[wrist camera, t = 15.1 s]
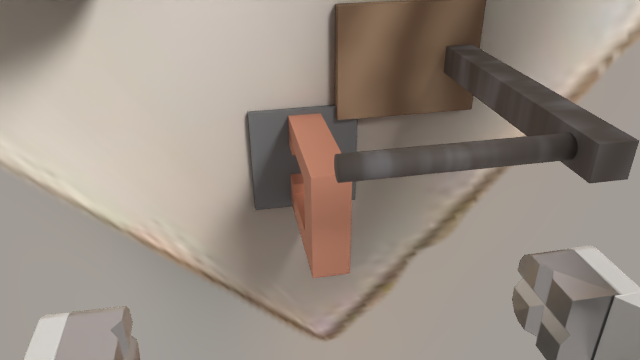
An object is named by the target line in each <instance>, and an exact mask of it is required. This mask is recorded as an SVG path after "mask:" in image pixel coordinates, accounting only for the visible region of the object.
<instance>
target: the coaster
mask: <svg viewBox="0 0 640 360" xmlns="http://www.w3.org/2000/svg"><path fill="white" fill-rule="evenodd" d="M318 113H321V115H322V117H323V119H324V120H325V122H326V124H327V126H328V128H329V130H330V132H331V134H332V136H333V138H334V140H335V142H336V143H337V145H338V147H339V149H340V151H341V153H352V152H356V145H357V119H344V120H337V118H336V106H335V105H330V106H316V107H303V108H290V109H277V110H264V111H251V112H248V123H249V136H250V148H251V161H252V174H253V186H254V199H255V209H256V210H261V209H270V208H280V207H289V206H293V205H292V200H291V174H301V170H300V167H299V164H298V161H297V158H296V155H292V153H291V150H290V147H289V126H288V116H292V115H305V114H318ZM355 183H356V181H353V182H352V200H355Z"/></svg>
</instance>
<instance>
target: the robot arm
mask: <svg viewBox="0 0 640 360" xmlns="http://www.w3.org/2000/svg"><path fill="white" fill-rule="evenodd" d="M518 271H519V273H520V275H521V276H522V279H521V280H520V281H519V282H518V283H517V284H516V286H515V287H514V292H513V298H512V301H513V307H514V312H515V315H516V317H517V319H518V321H519V323H520V324H521V326H522V327H523V329H524V330H526V331H527V332H530V333H531V334H533V335H535V336H537V339H536V346H537V348H538V349H539V350H540V352H541V353H542V354H543V356H544V357H545V358H546V360H640V287H639V286H637V285H636V284H635V283H634V282H633V281H632V280H631V279H630V278H629V277H627V276H626V275H625V274H624V273H623V272H622V271H621V270H620V269H619V268H617V267H616V266H615V265H614V264H613V263H612V262H611V261H610V260H609V259H608V258H606V257H605V256H604V255H603V254H602V253H601V252H600V251H598V249H596V248H594V247H592V246H589V245H588V246H581V247H575V248H568V249H566V250H557V251H550V252H543V253H536V254H528V255H524V256H523V257H522V259H521V260H520V263H519V268H518ZM132 322H133V321H132V318H131V314H130V310H129V308H128V307H127V306H122V307H113V308H103V309H95V310H85V311H76V312H72V313H62V314H53V315H44V316H43V317H42V318H41V319H40V320H39V321H38V323H37V325H36V328H35V330H34V333H33V335H32V338H31V340H30V343H29V345H28V348H27V350H26V353H25V355H24V358H23V360H140V355H139V348H138V343H137V339H135V338H134V337H133V336H131V329H132Z"/></svg>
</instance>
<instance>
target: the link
mask: <svg viewBox="0 0 640 360" xmlns="http://www.w3.org/2000/svg"><path fill="white" fill-rule="evenodd" d="M288 126H289V147H290V150H291V153H292V155H296V158H297V161H298V164H299V167H300V170H301V174H291V200H292V205H293V208H294V212H295V216H296V219H297V223H298V226H299V230H300V234H301V237H302V241H303V244H304V248H305V251H306V255H307V259H308V262H309V266H310V269H311V273H312V277H313V278H318V277H325V276H333V275H341V274H349V273H350V250H351V205H352V182H343V183H338V182H337V180H336V176H335V170H334V156H335V154H341V151H340V149H339V147H338V145H337V143H336V142H335V140H334V138H333V136H332V134H331V132H330V130H329V128H328V126H327V124H326V122H325V120H324V119H323V117H322V115H321V113H318V114H305V115H292V116H288Z"/></svg>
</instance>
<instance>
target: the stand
mask: <svg viewBox="0 0 640 360" xmlns="http://www.w3.org/2000/svg"><path fill="white" fill-rule="evenodd" d="M485 4H486V0H409V1H387V2H365V3H343V4H335V106H336V118H337V120H344V119H357V118H369V117H382V116H394V115H406V114H419V113H431V112H443V111H456V110H468V109H471V108H472V100H473V95H474V96H475V97H477V98H478V99H479V100H480V101H482V102H483V103H484V104H486V105H487V106H488V107H490V108H491V109H492V110H494V111H495V112H496V113H498V114H499V115H500V116H502V117H503V118H504V119H505V120H507V121H508V122H509V123H511V124H512V125H513V126H515V127H516V128H517V129H519V130H520V131H521V132H523V133H524V134H525V135H527V137H516V138H505V139H494V140H483V141H472V142H461V143H450V144H439V145H428V146H417V147H406V148H395V149H384V150H373V151H363V152H352V153H341V154H335V156H334V170H335V176H336V180H337V182H338V183H343V182H353V181H363V180H373V179H383V178H393V177H403V176H413V175H423V174H433V173H443V172H453V171H463V170H473V169H483V168H493V167H503V166H513V165H522V164H532V163H543V162H553V161H561V162H562V163H563V164H565V165H566V166H567V167H569V168H570V169H571V170H573V171H574V172H575V173H577V174H578V175H579V176H580V177H582V178H583V179H584V180H586V181H587V182H588V183H597V182H606V181H615V180H624V179H628V176H629V172H630V169H631V166H632V163H633V159H634V156H635V153H636V149H637V146H638V143H639V140H637V139H635V138H634V137H632V136H630V135H628V134H627V133H625V132H623V131H621V130H619V129H618V128H616V127H614V126H613V125H611V124H609V123H607V122H606V121H604V120H602V119H601V118H599V117H597V116H595V115H593V114H592V113H590V112H588V111H587V110H585V109H583V108H581V107H580V106H578V105H576V104H574V103H573V102H571V101H569V100H568V99H566V98H564V97H562V96H561V95H559V94H557V93H555V92H554V91H552V90H550V89H548V88H547V87H545V86H543V85H541V84H540V83H538V82H536V81H534V80H533V79H531V78H529V77H528V76H526V75H524V74H522V73H521V72H519V71H517V70H515V69H514V68H512V67H510V66H508V65H507V64H505V63H503V62H501V61H500V60H498V59H496V58H494V57H493V56H491V55H489V54H488V53H486V52H484V51H482V50H481V49H480V41H481V34H482V26H483V19H484V11H485Z"/></svg>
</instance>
